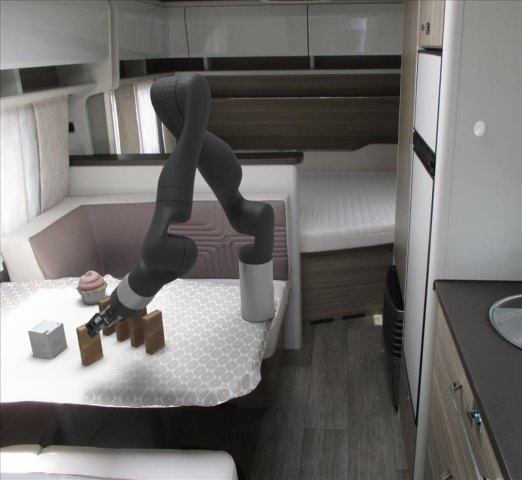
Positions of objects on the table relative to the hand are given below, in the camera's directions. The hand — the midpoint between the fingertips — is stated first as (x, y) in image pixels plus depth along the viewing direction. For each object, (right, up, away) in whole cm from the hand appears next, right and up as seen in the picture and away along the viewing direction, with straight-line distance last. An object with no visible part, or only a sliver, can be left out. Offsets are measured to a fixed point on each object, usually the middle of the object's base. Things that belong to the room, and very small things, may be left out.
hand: (105, 326), depth 118 cm
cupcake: (-15, +1, +39) cm, 42 cm away
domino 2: (-5, -5, +21) cm, 22 cm away
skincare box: (-18, -9, +13) cm, 24 cm away
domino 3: (0, -6, +18) cm, 19 cm away
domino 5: (+9, -8, +12) cm, 17 cm away
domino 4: (+4, -7, +15) cm, 17 cm away
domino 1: (-6, -10, +8) cm, 14 cm away
